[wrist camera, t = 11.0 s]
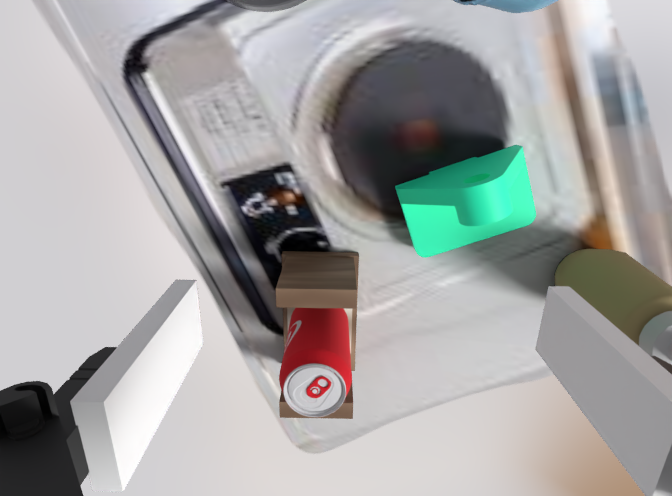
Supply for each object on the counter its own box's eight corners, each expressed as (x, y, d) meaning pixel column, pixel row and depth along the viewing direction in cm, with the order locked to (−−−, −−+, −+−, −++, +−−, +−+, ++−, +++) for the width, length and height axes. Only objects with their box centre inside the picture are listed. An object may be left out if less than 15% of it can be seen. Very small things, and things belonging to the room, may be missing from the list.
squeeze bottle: (551, 317, 47) (670, 438, 30) (535, 253, 45) (655, 346, 28) (625, 293, 46) (791, 404, 29) (612, 227, 44) (785, 306, 27)
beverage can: (279, 322, 46) (261, 395, 35) (316, 282, 45) (308, 345, 33) (323, 354, 48) (319, 434, 36) (360, 317, 46) (368, 388, 35)
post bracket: (282, 251, 45) (269, 286, 37) (358, 252, 45) (363, 287, 37) (285, 364, 50) (274, 418, 41) (354, 365, 50) (357, 420, 41)
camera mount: (414, 251, 45) (435, 292, 35) (393, 183, 43) (409, 208, 33) (526, 215, 44) (580, 248, 34) (511, 143, 41) (564, 156, 32)
